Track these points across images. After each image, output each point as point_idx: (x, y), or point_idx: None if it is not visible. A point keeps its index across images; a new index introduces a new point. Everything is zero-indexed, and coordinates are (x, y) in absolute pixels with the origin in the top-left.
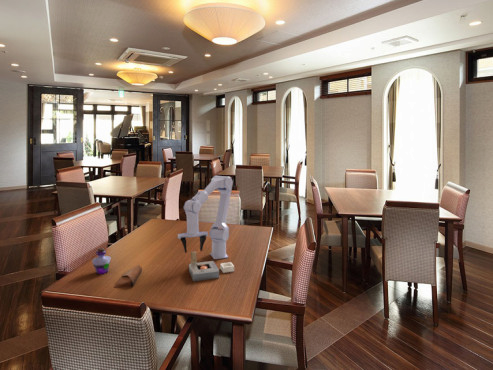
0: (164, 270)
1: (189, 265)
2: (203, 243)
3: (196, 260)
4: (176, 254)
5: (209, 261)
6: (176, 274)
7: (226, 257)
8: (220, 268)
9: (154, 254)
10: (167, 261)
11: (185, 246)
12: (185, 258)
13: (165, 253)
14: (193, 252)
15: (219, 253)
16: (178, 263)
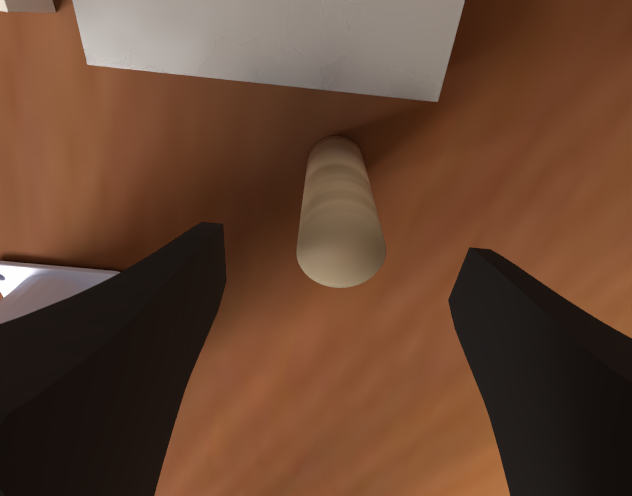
0: (592, 218)
1: (447, 53)
2: (87, 294)
3: (308, 179)
4: (370, 425)
5: (145, 59)
6: (565, 65)
7: (6, 262)
8: (50, 1)
9: (484, 459)
10: None
11: (567, 319)
12: (338, 361)
13: (423, 452)
14: (341, 254)
15: (44, 302)
16: (419, 304)
